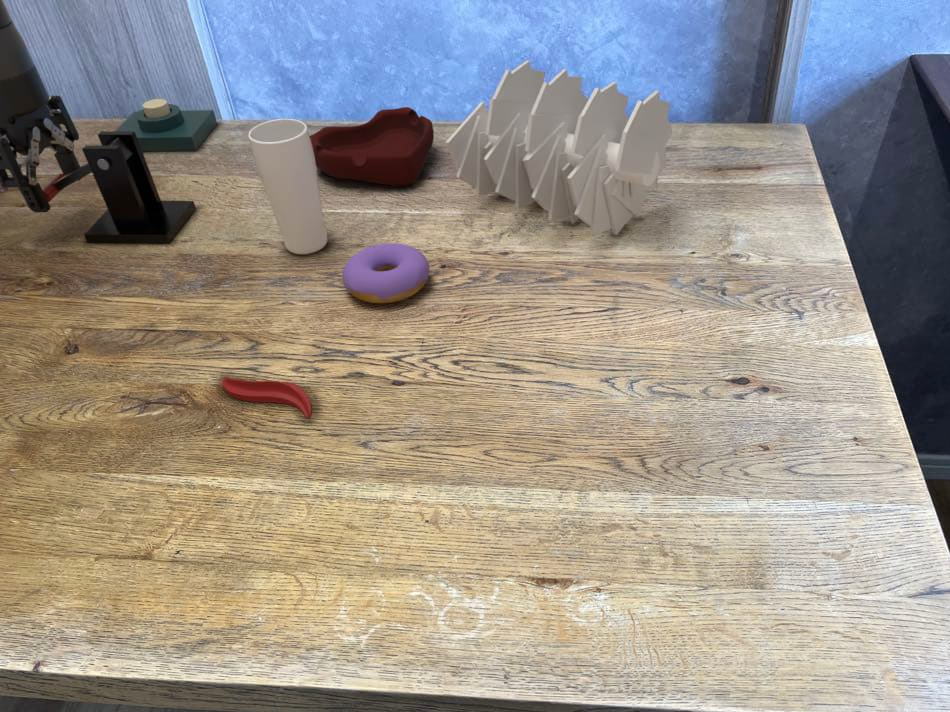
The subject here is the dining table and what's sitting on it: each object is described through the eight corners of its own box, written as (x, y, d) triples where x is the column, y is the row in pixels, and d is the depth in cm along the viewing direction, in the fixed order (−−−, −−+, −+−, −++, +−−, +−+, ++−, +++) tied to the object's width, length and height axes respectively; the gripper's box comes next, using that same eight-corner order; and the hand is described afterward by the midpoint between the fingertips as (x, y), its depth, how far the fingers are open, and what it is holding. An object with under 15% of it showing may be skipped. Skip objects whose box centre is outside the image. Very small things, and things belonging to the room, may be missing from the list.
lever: (47, 207, 104) (32, 191, 103) (66, 188, 108) (52, 173, 107) (120, 166, 100) (105, 149, 98) (138, 148, 103) (124, 132, 102)
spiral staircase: (512, 202, 117) (667, 242, 106) (432, 199, 103) (601, 245, 91) (535, 67, 111) (701, 93, 100) (452, 44, 97) (636, 72, 85)
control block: (113, 151, 125) (102, 126, 122) (139, 124, 132) (130, 100, 130) (196, 150, 124) (187, 125, 122) (217, 123, 132) (209, 98, 129)
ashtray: (355, 210, 109) (348, 175, 106) (304, 167, 119) (295, 134, 116) (467, 170, 117) (464, 136, 113) (410, 133, 126) (405, 101, 123)
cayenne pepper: (326, 405, 80) (322, 391, 79) (289, 432, 77) (284, 417, 76) (249, 361, 86) (244, 346, 84) (213, 384, 83) (207, 370, 82)
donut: (420, 252, 100) (417, 222, 96) (439, 306, 95) (437, 276, 91) (339, 269, 98) (332, 238, 94) (353, 324, 92) (347, 294, 89)
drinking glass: (336, 254, 101) (309, 138, 91) (280, 263, 100) (247, 147, 90) (332, 227, 106) (306, 114, 96) (279, 236, 105) (246, 122, 95)
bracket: (87, 242, 105) (47, 156, 97) (118, 208, 112) (83, 124, 104) (169, 243, 104) (135, 156, 96) (196, 208, 111) (166, 124, 103)
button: (142, 119, 125) (138, 108, 124) (151, 110, 127) (147, 99, 126) (165, 119, 125) (161, 107, 123) (174, 109, 127) (170, 98, 126)
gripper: (1, 47, 100) (59, 170, 111) (-71, 91, 90) (1, 222, 101) (59, 45, 100) (112, 169, 111) (-6, 90, 89) (59, 222, 100)
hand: (59, 194), depth 106 cm, fingers open, 8 cm apart
